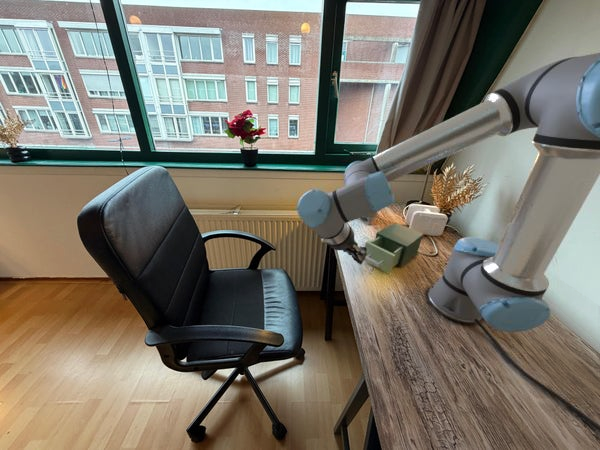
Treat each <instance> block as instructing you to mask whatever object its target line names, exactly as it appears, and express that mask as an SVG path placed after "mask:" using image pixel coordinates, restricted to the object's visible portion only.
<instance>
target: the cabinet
mask: <svg viewBox="0 0 600 450" xmlns="http://www.w3.org/2000/svg"><path fill="white" fill-rule="evenodd" d="M424 235H425V234H422V233H419V232H417V231H415V230H412V229H410V228H409V227H407V226H404V225H402V224H400V223H397V222H393V223H391V224H389V225H387V226H386V227H384V228H383V229H381V230H379V231H377V232H376V233H375V238H374V239H376V238H377V237H379V236H381V237H383V238H385V239H387V240H389V241H392V242H394V243H396V244H398V245H400V246H402V247H405V248H404V251H403V254H402V257H401V260H400V262H399V263H398V264H397V265H395V267H396V266H397V267H398V268H402V267H403V266H404V265H406V264H407V263H408V262H409V261H410V260H411V259H413V258H414V257H415V256H416V255H417V254H418V253H419V249H420V246H421V243H422V240H423V237H424Z"/></svg>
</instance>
